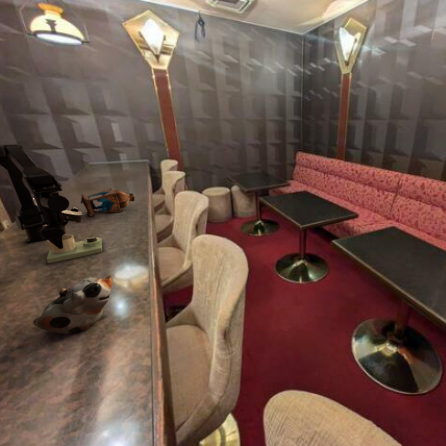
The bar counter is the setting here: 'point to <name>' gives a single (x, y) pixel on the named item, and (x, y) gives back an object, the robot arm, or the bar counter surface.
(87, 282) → the lucky cat figurine
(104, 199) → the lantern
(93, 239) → the tare button
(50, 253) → the scale
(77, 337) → the bar counter surface
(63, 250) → the bowl
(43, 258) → the bar counter surface
